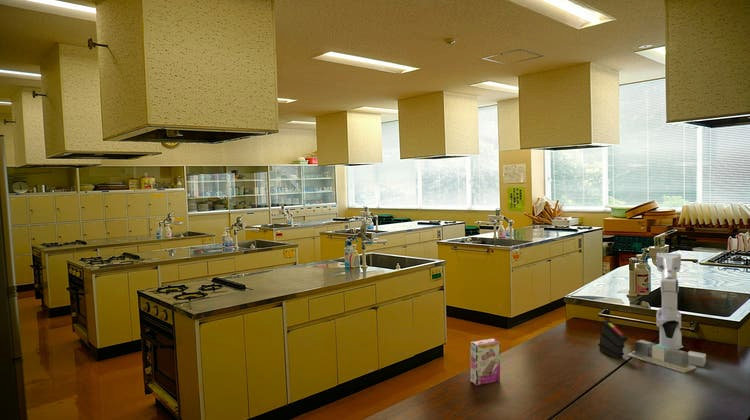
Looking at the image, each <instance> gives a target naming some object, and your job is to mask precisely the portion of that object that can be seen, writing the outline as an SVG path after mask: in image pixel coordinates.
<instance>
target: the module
mask: <svg viewBox="0 0 750 420" xmlns="http://www.w3.org/2000/svg"><path fill="white" fill-rule="evenodd" d="M659 344H660V343H657V344H656V343H655V345H653V346H652V358H655V359H659V360H662V361H666V360H667V351H668V350H669V347H666V346H663V345H659Z"/></svg>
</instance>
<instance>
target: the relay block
mask: <svg viewBox="0 0 750 420" xmlns="http://www.w3.org/2000/svg"><path fill="white" fill-rule="evenodd" d="M688 352H689V353H688V364H690V365H693V366H696V367H705V365H706V363H707V359H706V358H707V354H706V353H702V352H697V351H692V350H689V351H688Z"/></svg>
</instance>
